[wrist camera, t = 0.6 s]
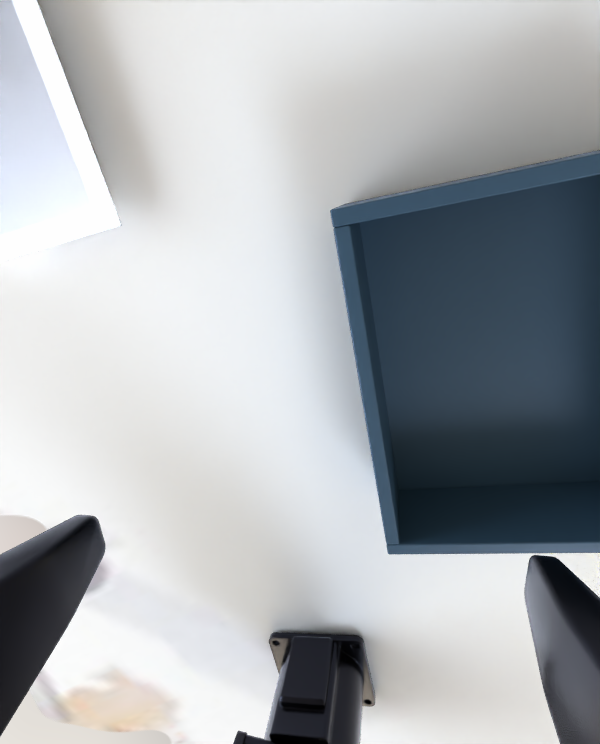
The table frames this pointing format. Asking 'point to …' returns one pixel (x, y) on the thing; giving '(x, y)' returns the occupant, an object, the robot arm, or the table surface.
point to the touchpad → (43, 144)
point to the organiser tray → (481, 357)
